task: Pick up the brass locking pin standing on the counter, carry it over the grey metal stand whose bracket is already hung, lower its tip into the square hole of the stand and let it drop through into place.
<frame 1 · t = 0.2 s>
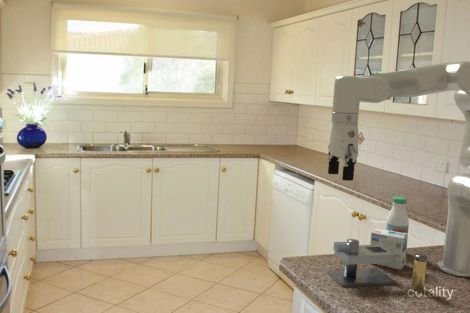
hand: (340, 177, 143), 31 cm above the counter, tool pointing down, fingers open, 9 cm apart
pin: (417, 288, 141), on the counter
grey metal stand: (349, 279, 145), on the counter
milk bottle: (394, 253, 172), on the counter
light bulb box: (386, 264, 161), on the counter
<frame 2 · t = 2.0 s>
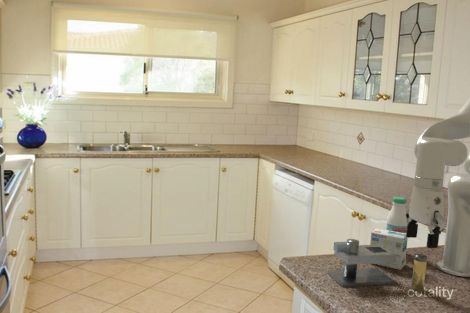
hand: (421, 242, 138), 14 cm above the counter, tool pointing down, fingers open, 9 cm apart
nothing on the counter moved.
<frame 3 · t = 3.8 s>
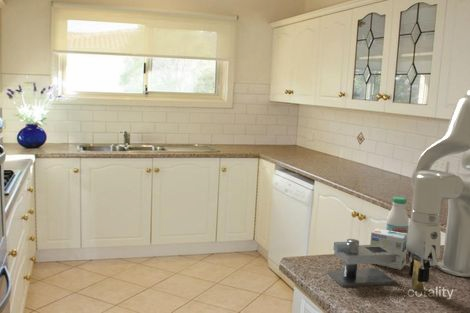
hand: (418, 278, 140), 3 cm above the counter, tool pointing down, fingers closed on pin, 3 cm apart
pin: (417, 288, 141), on the counter, touching gripper
everything else where it was.
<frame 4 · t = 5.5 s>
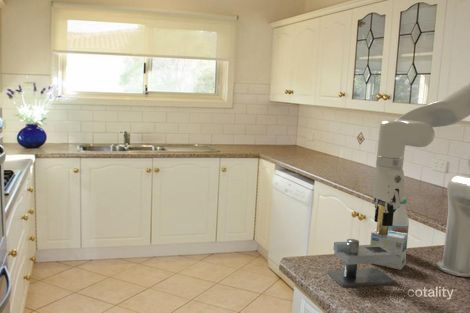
hand: (383, 223, 144), 18 cm above the counter, tool pointing down, fingers closed on pin, 3 cm apart
pin: (382, 233, 144), point 14 cm above the counter, touching gripper
everything else where it was.
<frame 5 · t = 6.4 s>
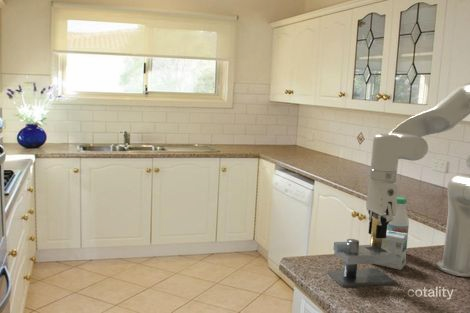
hand: (377, 235, 145), 13 cm above the counter, tool pointing down, fingers closed on pin, 3 cm apart
pin: (375, 245, 146), point 10 cm above the counter, touching gripper
everything else where it was.
when the fingers open (10 cm above the counter, at t = 7.2 s): pin drops 6 cm, resting on grey metal stand.
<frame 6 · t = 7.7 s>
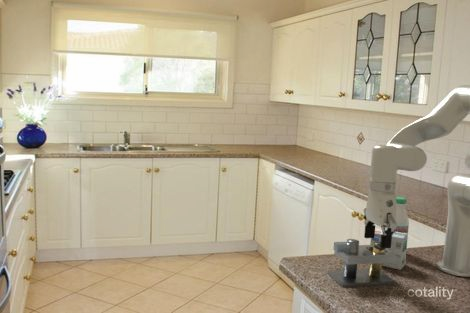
hand: (377, 242, 146), 11 cm above the counter, tool pointing down, fingers open, 9 cm apart
pin: (374, 274, 147), point 1 cm above the counter, tilted 5°, touching grey metal stand
everything else where it was.
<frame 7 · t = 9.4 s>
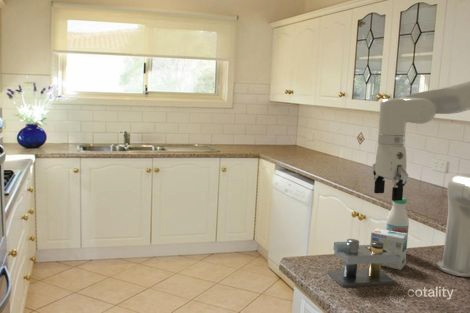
hand: (387, 196, 146), 25 cm above the counter, tool pointing down, fingers open, 9 cm apart
nothing on the counter moved.
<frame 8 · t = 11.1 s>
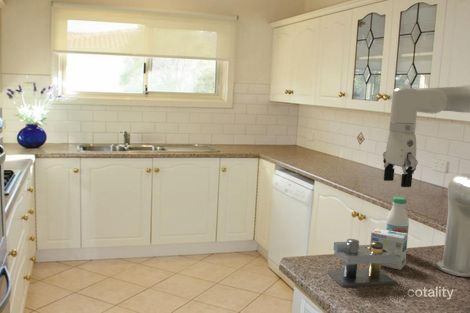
hand: (396, 183, 150), 28 cm above the counter, tool pointing down, fingers open, 9 cm apart
nothing on the counter moved.
at the end: pin 0.1 cm from the target spot on the grey metal stand, point 1.0 cm above the grey metal stand's base; pin tilted 0°; the gripper is holding nothing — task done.
